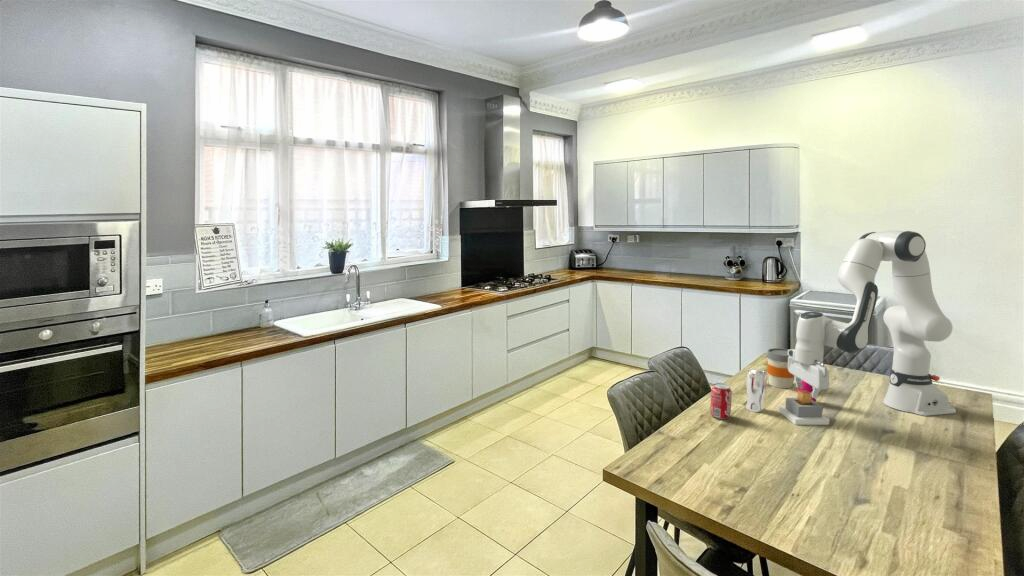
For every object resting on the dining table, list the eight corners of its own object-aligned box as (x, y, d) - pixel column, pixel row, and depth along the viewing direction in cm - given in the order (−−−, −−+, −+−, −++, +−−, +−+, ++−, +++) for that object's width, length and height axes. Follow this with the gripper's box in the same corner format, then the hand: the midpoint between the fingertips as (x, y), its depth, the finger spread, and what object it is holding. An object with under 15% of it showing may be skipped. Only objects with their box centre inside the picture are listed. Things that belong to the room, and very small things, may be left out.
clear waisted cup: (764, 407, 191) (766, 370, 189) (764, 413, 185) (767, 375, 183) (744, 404, 194) (746, 368, 192) (744, 410, 188) (747, 373, 186)
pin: (804, 416, 183) (806, 390, 181) (809, 419, 180) (811, 393, 178) (795, 416, 183) (798, 390, 181) (800, 419, 180) (802, 393, 178)
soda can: (729, 414, 185) (731, 383, 183) (731, 421, 179) (733, 390, 177) (709, 411, 187) (711, 381, 186) (710, 418, 181) (712, 387, 179)
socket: (809, 411, 187) (810, 396, 186) (829, 424, 175) (830, 408, 174) (777, 411, 187) (779, 396, 186) (795, 424, 176) (796, 408, 175)
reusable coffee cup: (789, 380, 221) (791, 348, 219) (802, 390, 209) (805, 356, 207) (760, 379, 222) (762, 347, 220) (771, 389, 210) (774, 355, 208)
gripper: (835, 365, 167) (832, 403, 169) (801, 348, 187) (799, 383, 190) (817, 365, 167) (814, 403, 170) (785, 348, 188) (783, 383, 190)
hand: (806, 392), depth 180 cm, fingers open, 8 cm apart
